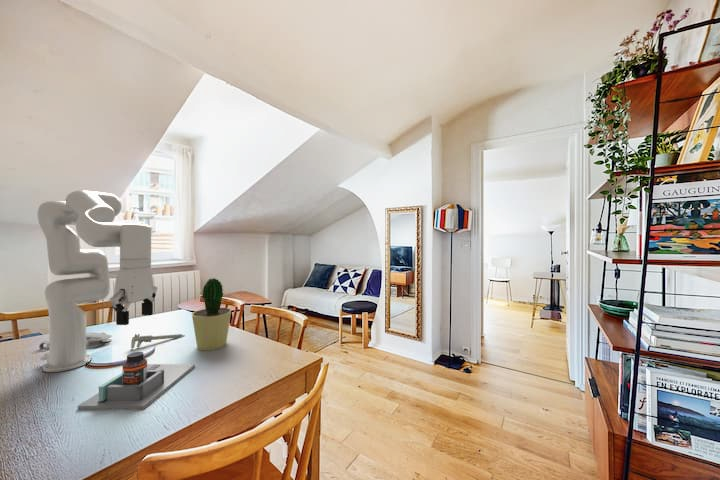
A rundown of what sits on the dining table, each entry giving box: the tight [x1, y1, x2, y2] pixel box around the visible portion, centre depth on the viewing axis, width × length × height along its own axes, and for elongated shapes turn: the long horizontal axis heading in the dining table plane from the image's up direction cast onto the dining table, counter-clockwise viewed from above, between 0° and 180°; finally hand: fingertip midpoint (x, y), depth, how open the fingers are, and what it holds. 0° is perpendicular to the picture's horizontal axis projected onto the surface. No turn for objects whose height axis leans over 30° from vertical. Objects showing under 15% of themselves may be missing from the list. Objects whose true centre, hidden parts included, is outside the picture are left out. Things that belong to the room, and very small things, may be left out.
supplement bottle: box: [121, 351, 148, 385], centre depth 86 cm, size 6×6×11 cm
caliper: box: [130, 333, 185, 349], centre depth 128 cm, size 20×1×6 cm, turn 144°
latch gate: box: [98, 372, 122, 401], centre depth 87 cm, size 1×13×4 cm, turn 1°
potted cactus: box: [191, 277, 232, 351], centre depth 125 cm, size 15×15×30 cm
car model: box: [38, 332, 113, 351], centre depth 124 cm, size 11×24×5 cm, turn 96°
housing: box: [77, 363, 196, 410], centre depth 92 cm, size 18×26×5 cm
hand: (135, 319), depth 88 cm, fingers open, 9 cm apart
